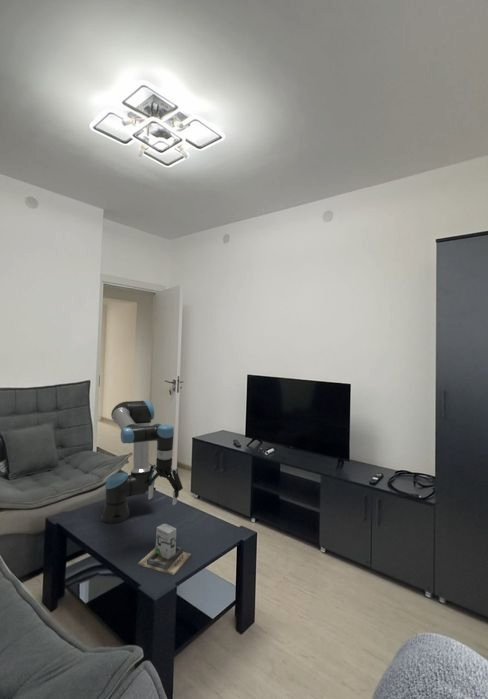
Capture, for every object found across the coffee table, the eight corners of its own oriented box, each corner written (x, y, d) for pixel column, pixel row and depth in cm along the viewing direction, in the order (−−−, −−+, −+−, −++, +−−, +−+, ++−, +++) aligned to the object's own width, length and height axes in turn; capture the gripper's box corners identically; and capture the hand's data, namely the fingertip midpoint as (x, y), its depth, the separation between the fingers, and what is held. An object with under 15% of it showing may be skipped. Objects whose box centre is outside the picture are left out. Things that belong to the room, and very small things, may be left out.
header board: (138, 565, 153) (138, 558, 153) (157, 547, 167) (157, 541, 167) (174, 575, 147) (174, 568, 147) (190, 555, 161) (191, 549, 161)
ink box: (154, 552, 158) (155, 526, 158) (162, 548, 162) (163, 522, 162) (167, 559, 153) (168, 532, 153) (176, 554, 157) (177, 528, 157)
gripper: (138, 455, 168) (136, 499, 168) (183, 464, 160) (181, 509, 160) (147, 451, 175) (145, 493, 175) (191, 459, 167) (188, 503, 167)
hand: (162, 501), depth 168 cm, fingers open, 13 cm apart
